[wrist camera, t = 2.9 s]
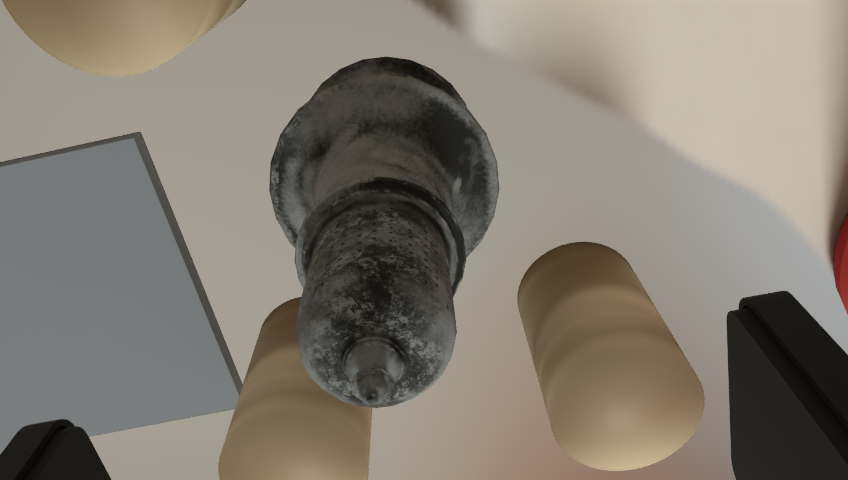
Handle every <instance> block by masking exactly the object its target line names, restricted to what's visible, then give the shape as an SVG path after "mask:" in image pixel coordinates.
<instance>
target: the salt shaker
mask: <svg viewBox="0 0 848 480" xmlns="http://www.w3.org/2000/svg"><path fill="white" fill-rule="evenodd" d="M498 193H499V182H498V170H497V161H496V158H495V155H494V153H493V150H492V148H491V145H490V142H489V140H488V137H487V134H486V133H485V131H484V130H483V129H482V127H481V126H480V125H479V123H478V122H477V121H476V119H475V118H474V117H473V115H472V114H471V113H470V111H469V110H468V109H467V107H466V104H465V102H464V101H463V99H462V98H461V97H460V95H459V94H458V93H457V91H456V90H455V89H454V87H453V86H452V85H451V83H449V82H448V81H447V80H445V79H444V78H443V77H442V76H440V75H439V74H438V73H436V72H435V71H434V70H433V69H430V68H428V67H426V66H423V65H421V64H419V63H416V62H414V61H411V60H406V59H399V58H392V57H380V58H373V59H365V60H361V61H358V62H356V63H353V64H351V65H349V66H346V67H344V68H342V69H340V70H339V71H337V72H336V73H335V74H333V75H332V76H331V77H330V78H328V79H327V80H326V81H325V82H323V83H322V84H321V85H320V87H319V88H318V90H317V91H316V92H315V94H314V95H313V96H312V98H311V99H310V101H308V102H307V103H306V104H305V105H303V106H302V107H301V108H300V109H298V111H297V112H296V113H295V115H294V116H293V118H292V119H291V120H290V122H289V123H288V125H287V126H286V127H285V129H284V130H283V132H282V133H281V135H280V138H279V140H278V143H277V147H276V149H275V152H274V155H273V158H272V161H271V169H270V195H271V198H272V203H273V207H274V211H275V216H276V219H277V220H278V222H279V224H280V226H281V228H282V229H283V231H284V233H285V235H286V237H287V238H288V240H289V242H290V243H291V244H292V245H293V246H294V247H295V248H296V252H295V264H296V268H297V273H298V277H299V281H300V283H301V285H302V286H303V288H304V290H303V294H302V298H301V302H300V306H299V310H298V314H297V323H296V340H297V345H298V350H299V354H300V358H301V362H302V363H303V365H304V367H305V369H306V370H307V372H308V374H309V376H310V377H311V378H312V379H313V380H314V381H315V382H316V383H317V384H318V385H319V386H320V387H321V388H322V389H323V390H325V391H327V392H328V393H330V394H332V395H333V396H335V397H337V398H338V399H340V400H342V401H344V402H347V403H350V404H354V405H357V406H362V407H374V408H378V407H386V406H394V405H396V404H399V403H402V402H405V401H408V400H410V399H412V398H414V397H416V396H418V395H419V394H421V393H422V392H424V391H426V390H427V389H428V388H430V387H431V386H432V385H433V384H434V383H435V382H436V381H437V380H438V379H439V378H440V376H441V375H442V374H443V372H444V371H445V369H446V367H447V365H448V363H449V361H450V359H451V356H452V352H453V348H454V343H455V338H456V333H457V331H456V321H455V312H454V304H453V296H454V294H455V292H456V290H457V288H458V286H459V284H460V282H461V280H462V278H463V272H464V267H465V262H466V258H467V257H468V255H469V254H470V253H471V252H472V251H473V250H474V249H475V248H476V246H477V245H478V244H479V243H480V242H481V241H482V239H483V237H484V235H485V233H486V231H487V229H488V227H489V225H490V223H491V221H492V219H493V217H494V213H495V208H496V203H497V198H498Z"/></svg>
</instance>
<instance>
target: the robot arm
mask: <svg viewBox="0 0 848 480" xmlns="http://www.w3.org/2000/svg"><path fill="white" fill-rule="evenodd" d="M727 343H728V371H729V401H730V402H729V403H730V432H731V459H732V466H733V471H734V474H735V477H736V480H848V355H847V354H846V353H845V352H844V350H842V348H841V347H840V346H839V345H838V344H837V343H836V342H835V341H834V340H833V339H832V338H831V336H830V335H829V334H828V333H827V332H826V331H825V330H824V329H823V328H822V327H821V326H820V325H819V324H818V322H817V321H816V320H815V319H814V318H813V317H812V316H811V315H810V314H809V313H808V312H807V311H806V310H805V309H804V308H803V306H802V305H801V304H800V303H799V302H798V301H797V300H796V299H795V298H794V297H793V296H792V295H791V294H790V293H789V292H788V291H779V292H774V293H768V294H763V295H757V296H752V297H746V298H742V299H741V300H740V303H739V310H734V311H730V312H728V315H727ZM0 480H111V478H110V476H109V475H108V473H107V471H106V469H105V467H104V465H103V463H102V461H101V459H100V458H99V456H98V454H97V452H96V450H95V448H94V446H93V444H92V442H91V441H90V439H89V437H88V435H87V433H86V432H85V430H84V429H82V428H81V427H77V426H74V424H73V423H72V422H70V421H69V420H67V419H58V420H53V421H47V422H41V423H36V424H30V425H27V426H24V427H22V428H21V429H20V430H19V431H18V432H17V433H16V435H15V436H14V437H13V438H12V440H11V441H10V442H9V444H8V445H7V446H6V448H5V449H4V450H3V452H2V453H1V454H0Z"/></svg>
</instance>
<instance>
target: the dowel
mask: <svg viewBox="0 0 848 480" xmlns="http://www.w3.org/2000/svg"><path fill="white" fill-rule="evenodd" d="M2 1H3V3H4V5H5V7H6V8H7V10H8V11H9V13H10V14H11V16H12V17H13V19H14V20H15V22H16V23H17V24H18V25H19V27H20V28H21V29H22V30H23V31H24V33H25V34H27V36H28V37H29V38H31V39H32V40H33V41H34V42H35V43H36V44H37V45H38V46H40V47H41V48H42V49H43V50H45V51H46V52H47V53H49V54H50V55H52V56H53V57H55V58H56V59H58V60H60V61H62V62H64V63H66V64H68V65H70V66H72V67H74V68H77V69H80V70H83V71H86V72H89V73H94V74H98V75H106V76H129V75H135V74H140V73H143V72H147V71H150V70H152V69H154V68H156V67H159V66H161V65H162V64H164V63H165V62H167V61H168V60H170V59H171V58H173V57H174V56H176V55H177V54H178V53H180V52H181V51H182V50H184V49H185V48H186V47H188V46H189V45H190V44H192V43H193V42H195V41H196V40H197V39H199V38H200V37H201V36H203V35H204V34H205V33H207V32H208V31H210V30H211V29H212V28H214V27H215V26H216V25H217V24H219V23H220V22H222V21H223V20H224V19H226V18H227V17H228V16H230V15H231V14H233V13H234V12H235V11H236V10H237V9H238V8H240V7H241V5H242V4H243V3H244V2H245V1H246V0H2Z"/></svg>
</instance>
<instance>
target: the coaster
mask: <svg viewBox="0 0 848 480" xmlns="http://www.w3.org/2000/svg"><path fill="white" fill-rule="evenodd" d="M242 386H243V384H242V382H241V380H240V377H239V375H238V372H237V370H236V367H235V365H234V362H233V360H232V357H231V355H230V352H229V350H228V347H227V345H226V342H225V340H224V338H223V335H222V332H221V330H220V327H219V325H218V322H217V320H216V318H215V315H214V313H213V310H212V308H211V305H210V303H209V300H208V298H207V295H206V293H205V290H204V288H203V285H202V283H201V280H200V278H199V275H198V273H197V270H196V268H195V265H194V263H193V260H192V258H191V256H190V253H189V251H188V248H187V246H186V243H185V241H184V238H183V236H182V233H181V231H180V228H179V226H178V223H177V221H176V218H175V216H174V213H173V211H172V208H171V206H170V203H169V201H168V199H167V196H166V194H165V191H164V189H163V186H162V184H161V181H160V179H159V176H158V174H157V171H156V169H155V166H154V164H153V161H152V159H151V157H150V154H149V151H148V149H147V146H146V144H145V141H144V139H143V137H142V134H141V132H137V133H132V134H127V135H123V136H119V137H114V138H109V139H105V140H100V141H95V142H91V143H86V144H82V145H77V146H72V147H68V148H63V149H59V150H55V151H50V152H45V153H40V154H36V155H32V156H27V157H22V158H18V159H13V160H9V161H4V162H0V453H2V452H3V450H4V449H5V448H6V446H7V445H8V444H9V442H10V441H11V440H12V438H13V437H14V436H15V435H16V433H17V432H18V431H19V430H20V429H21V428H22V427H24V426H27V425H30V424H36V423H41V422H47V421H53V420H58V419H67V420H69V421H70V422H72V423H73V424H74V426H77V427H81V428H82V429H84V430H85V432H86V433H87V435H88V437H90V436H95V435H101V434H106V433H111V432H116V431H122V430H127V429H132V428H138V427H143V426H148V425H153V424H159V423H164V422H169V421H174V420H180V419H185V418H190V417H196V416H200V415H206V414H211V413H217V412H222V411H227V410H233V409H235V408H236V405H237V402H238V399H239V396H240V393H241V390H242Z"/></svg>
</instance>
